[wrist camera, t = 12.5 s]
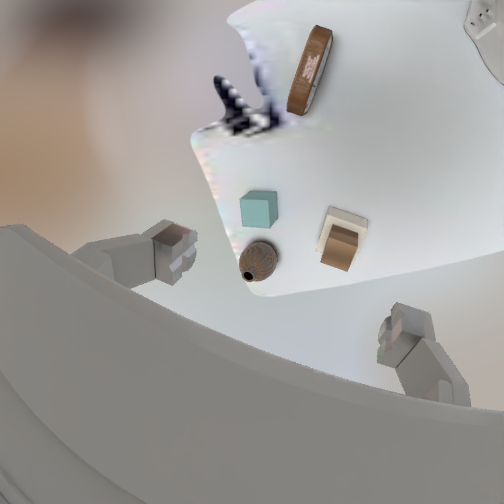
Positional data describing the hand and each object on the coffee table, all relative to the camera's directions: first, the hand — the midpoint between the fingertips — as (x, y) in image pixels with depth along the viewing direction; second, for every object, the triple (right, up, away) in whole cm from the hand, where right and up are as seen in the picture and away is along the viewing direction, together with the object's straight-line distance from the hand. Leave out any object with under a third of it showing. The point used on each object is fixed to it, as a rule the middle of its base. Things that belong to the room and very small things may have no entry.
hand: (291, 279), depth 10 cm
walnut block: (+13, +3, +34) cm, 36 cm away
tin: (+9, +29, +26) cm, 40 cm away
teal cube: (+1, +10, +40) cm, 41 cm away
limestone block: (+15, +5, +37) cm, 40 cm away
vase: (+1, +1, +45) cm, 45 cm away
